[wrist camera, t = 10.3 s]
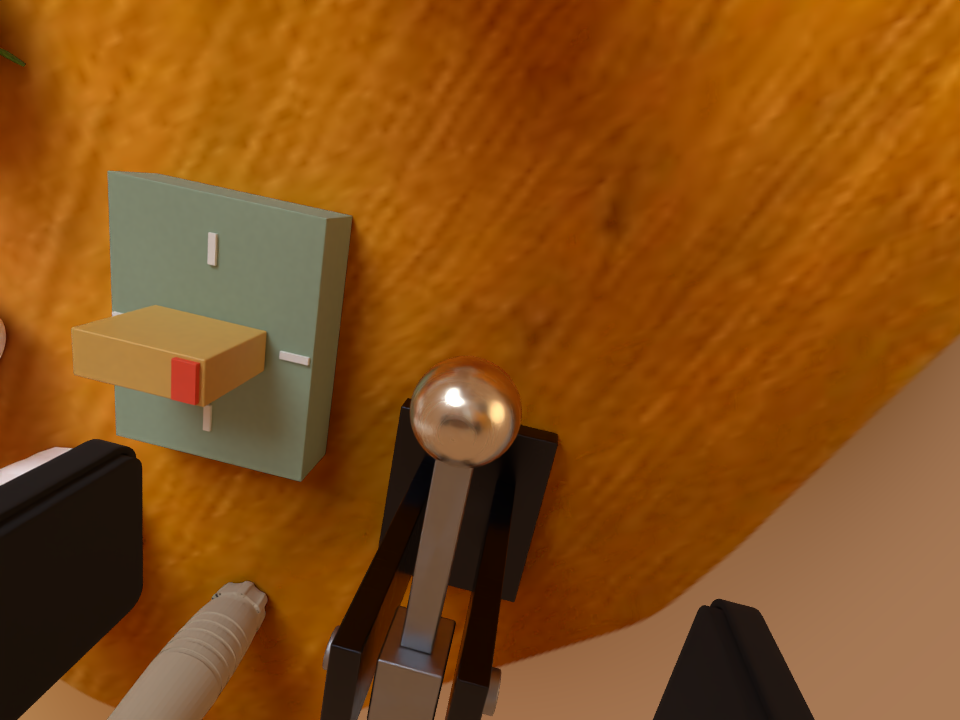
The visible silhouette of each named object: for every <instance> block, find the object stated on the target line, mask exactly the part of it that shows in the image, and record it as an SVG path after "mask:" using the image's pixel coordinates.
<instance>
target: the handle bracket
mask: <svg viewBox="0 0 960 720" xmlns="http://www.w3.org/2000/svg"><path fill="white" fill-rule="evenodd" d="M410 404H411V399H410V398H407V400H406V401H405V402H404V404H403V405H402V407H401V411H400V418H399V424H398V430H397V436H396V442H395V448H394V455H393V461H392V467H391V473H390V479H389V486H388V492H387V498H386V504H385V510H384V517H383V523H382V529H381V535H380V541H379V547H378V550H377V552H376V554H375V556H374V558H373V560H372V562H371V564H370V566H369V568H368V570H367V572H366V574H365V576H364V578H363V580H362V582H361V584H360V586H359V588H358V590H357V593H356V595H355V597H354V599H353V601H352V603H351V605H350V607H349V609H348V611H347V613H346V615H345V617H344V619H343V621H342V623H341V625H339V626H337V627H336V628H335V629H334V631H333V633H332V635H331V637H330V640H329V642H328V645H327V648H326V651H325V655H324V659H323V669H324V670H327V674H326V682H325V689H324V697H323V704H322V711H321V719H320V720H357V719H358V716H359V714H360V711H361V708H362V706H363V703H364V700H365V698H366V695H367V692H368V690H369V687H370V684H371V682H372V679H373V676H374V674H375V670H376V664H377V659H378V656H379V654H380V651H381V648H382V646H383V643H384V641H385V638H386V635H387V633H388V630H389V627H390V625H391V622H392V620H393V617H394V614H395V612H396V609H397V607H398V606H400V605H401V602H402V599H403V597H404V594H405V591H406V589H407V586H408V583H409V581H410V578H411V575H412V576H413V575H414V569H415V564H416V559H417V554H418V549H419V543H420V538H421V533H422V528H423V523H424V517H425V512H426V507H427V502H428V496H429V491H430V486H431V481H432V476H433V470H434V465H435V459H434V458H433V457H431V456H430V455H429V454H428V453H427V452H426V451H425V450H424V449H423V448H422V447H421V445H420V444H419V442H418V441H417V439H416V437H415V435H414V433H413V429H412V426H411V420H410ZM557 446H558V435H557V434H556V433H552V432H548V431H543V430H539V429H535V428H531V427H527V426H522V425H520V428H519V431H518V434H517V436H516V438H515V440H514V442H513V443H512V445H511V446H510V447H509V449H508V450H507V451H506V452H505V453H504V454H503V455H501V456H500V457H499V458H498V459H496V460H494V461H493V462H491V463H489V464H486V465H484V466H480V467H475V468H474V469H473V474H472V478H471V483H470V487H469V492H468V497H467V501H466V506H465V510H464V515H463V519H462V524H461V528H460V533H459V537H458V542H457V547H456V551H455V556H454V560H453V565H452V569H451V574H450V578H449V583H448V585H450V586H454V587H458V588H461V589H465V590H469V591H472V592H471V597H470V602H469V606H468V611H467V616H466V621H465V626H464V631H463V635H462V640H461V645H460V650H459V655H458V659H457V664H456V669H455V674H454V679H453V684H452V688H451V693H450V698H449V703H448V708H447V713H446V717H445V720H481V717H482V714H486V715H489V716H493V714H494V711H495V708H496V703H497V698H498V693H499V687H500V680H501V670H500V669H498V668H494V667H492V663H493V656H494V648H495V641H496V633H497V625H498V618H499V610H500V602H501V599H503V600H507V601H511V602H514V601H515V598H516V595H517V591H518V587H519V584H520V580H521V577H522V573H523V569H524V566H525V562H526V558H527V555H528V551H529V547H530V544H531V540H532V537H533V533H534V529H535V526H536V522H537V518H538V515H539V511H540V507H541V504H542V500H543V497H544V493H545V489H546V486H547V482H548V478H549V475H550V471H551V467H552V464H553V460H554V457H555V453H556V449H557Z"/></svg>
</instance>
